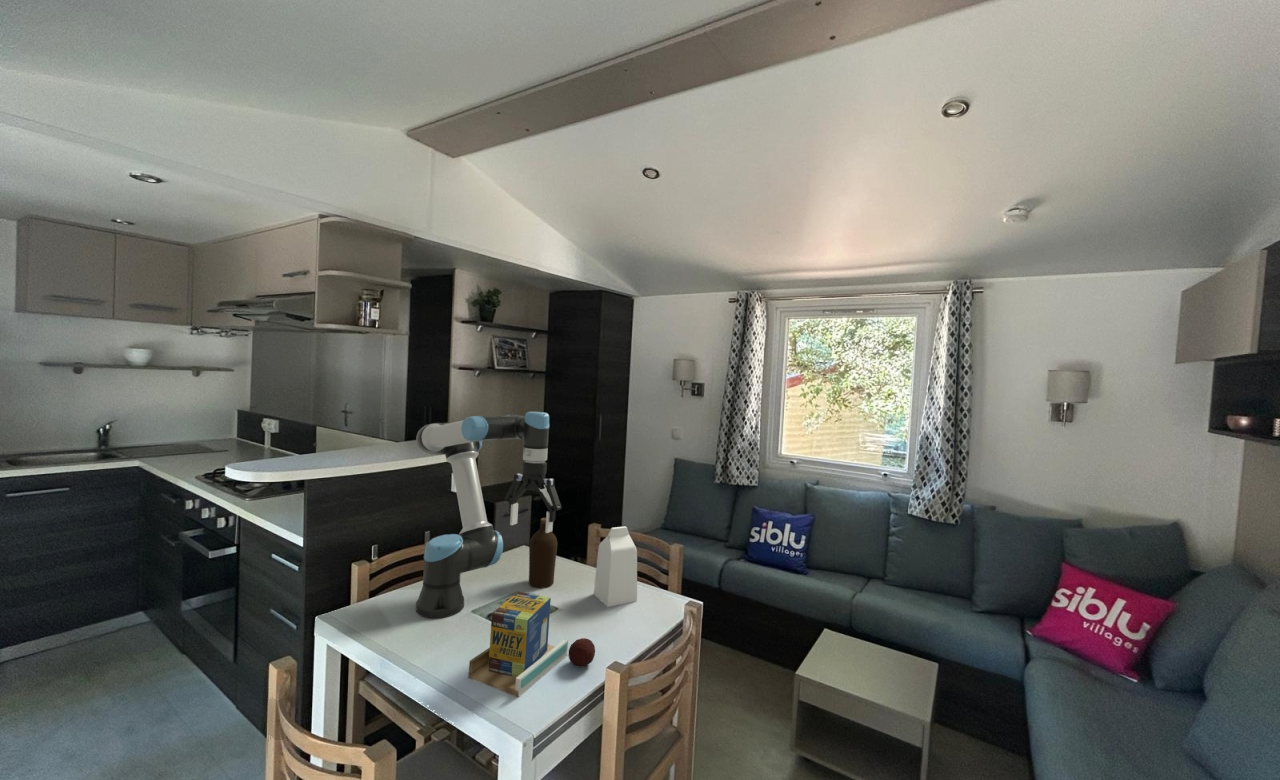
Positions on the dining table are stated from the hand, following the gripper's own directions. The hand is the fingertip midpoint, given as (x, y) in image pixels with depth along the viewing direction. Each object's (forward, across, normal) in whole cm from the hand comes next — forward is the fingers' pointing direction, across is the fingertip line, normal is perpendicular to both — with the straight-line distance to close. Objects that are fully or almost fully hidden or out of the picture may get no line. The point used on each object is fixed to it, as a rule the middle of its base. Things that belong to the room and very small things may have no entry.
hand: (530, 528), depth 159 cm
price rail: (+32, +20, -18) cm, 41 cm away
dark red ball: (+32, +26, -9) cm, 42 cm away
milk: (+32, +14, +35) cm, 49 cm away
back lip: (+32, +4, -18) cm, 37 cm away
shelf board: (+32, +12, -18) cm, 38 cm away
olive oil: (+32, -16, +31) cm, 47 cm away
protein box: (+30, +12, -18) cm, 37 cm away
